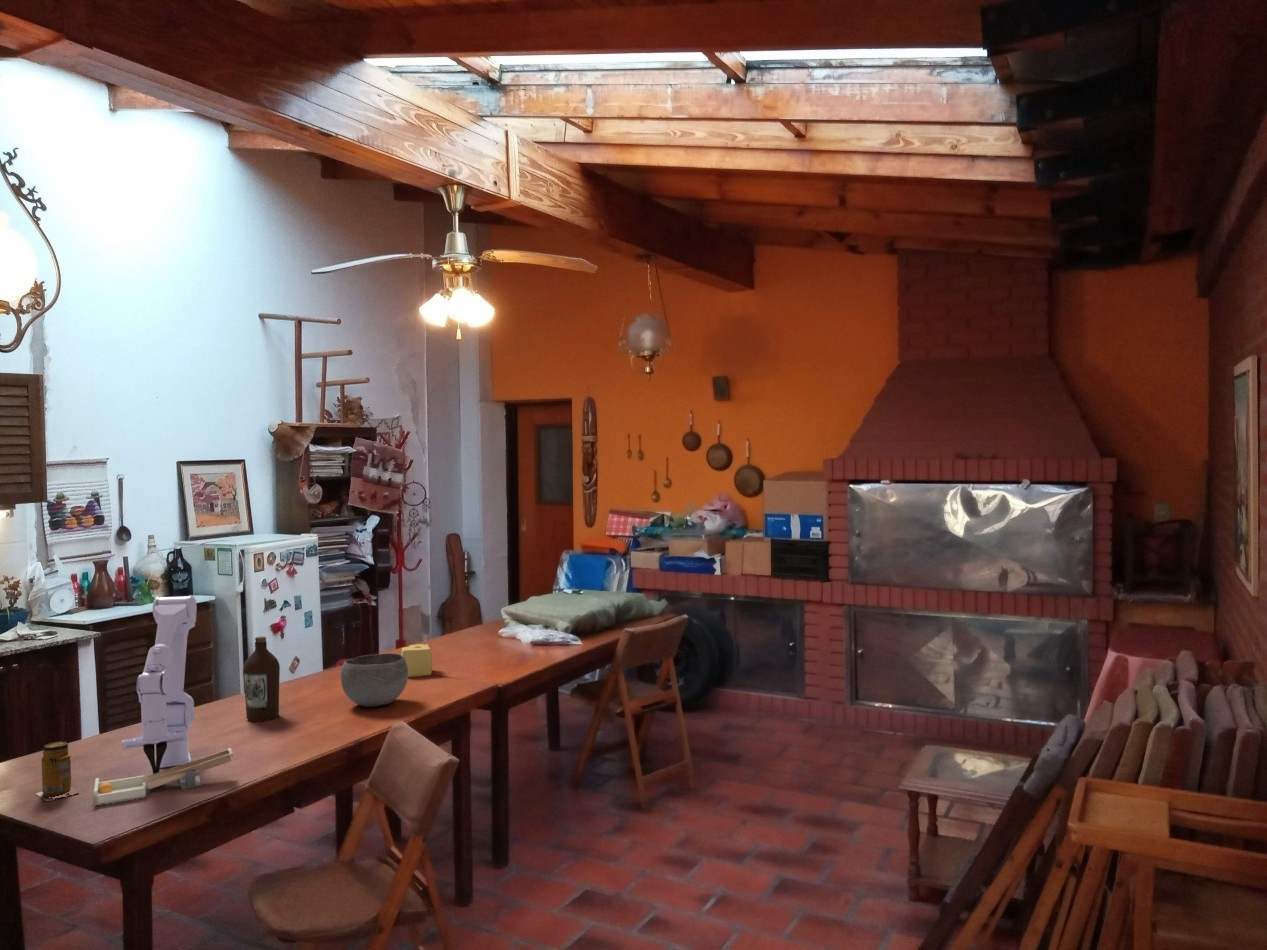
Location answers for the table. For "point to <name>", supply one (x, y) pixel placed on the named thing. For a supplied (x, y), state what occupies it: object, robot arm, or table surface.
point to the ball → (105, 788)
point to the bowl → (374, 678)
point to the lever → (189, 768)
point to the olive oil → (261, 683)
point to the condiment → (55, 770)
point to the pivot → (190, 780)
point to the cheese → (418, 659)
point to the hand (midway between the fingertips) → (156, 772)
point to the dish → (121, 790)
